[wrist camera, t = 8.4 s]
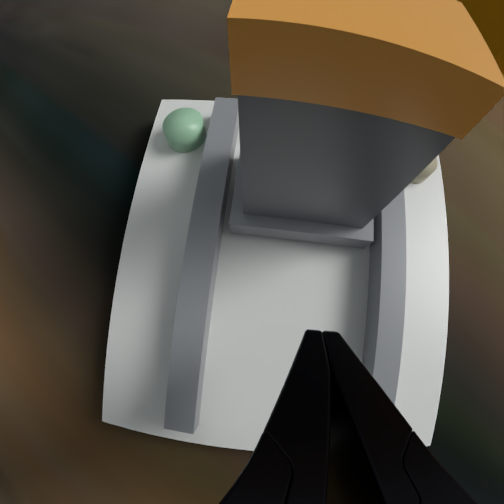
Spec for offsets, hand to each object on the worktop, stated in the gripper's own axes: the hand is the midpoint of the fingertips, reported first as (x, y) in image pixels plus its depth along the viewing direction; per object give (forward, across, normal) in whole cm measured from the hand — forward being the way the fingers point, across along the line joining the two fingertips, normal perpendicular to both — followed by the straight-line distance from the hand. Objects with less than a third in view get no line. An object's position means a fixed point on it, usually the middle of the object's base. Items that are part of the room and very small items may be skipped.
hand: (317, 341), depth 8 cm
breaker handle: (+8, 0, -1) cm, 8 cm away
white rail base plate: (+8, 0, +3) cm, 8 cm away
